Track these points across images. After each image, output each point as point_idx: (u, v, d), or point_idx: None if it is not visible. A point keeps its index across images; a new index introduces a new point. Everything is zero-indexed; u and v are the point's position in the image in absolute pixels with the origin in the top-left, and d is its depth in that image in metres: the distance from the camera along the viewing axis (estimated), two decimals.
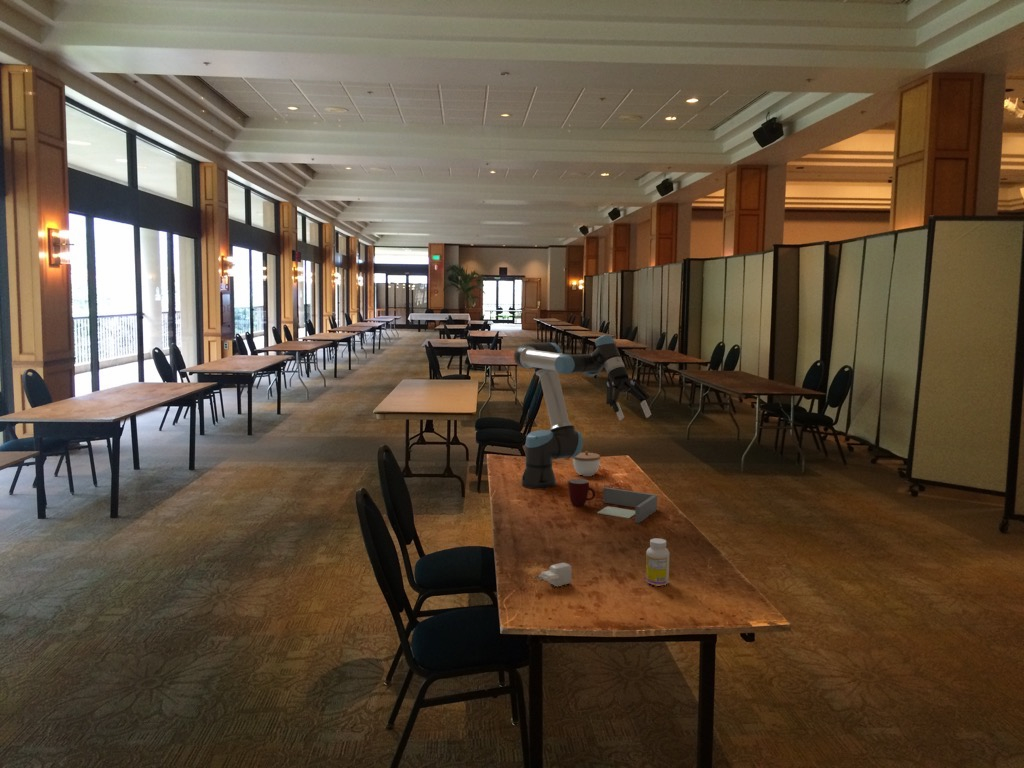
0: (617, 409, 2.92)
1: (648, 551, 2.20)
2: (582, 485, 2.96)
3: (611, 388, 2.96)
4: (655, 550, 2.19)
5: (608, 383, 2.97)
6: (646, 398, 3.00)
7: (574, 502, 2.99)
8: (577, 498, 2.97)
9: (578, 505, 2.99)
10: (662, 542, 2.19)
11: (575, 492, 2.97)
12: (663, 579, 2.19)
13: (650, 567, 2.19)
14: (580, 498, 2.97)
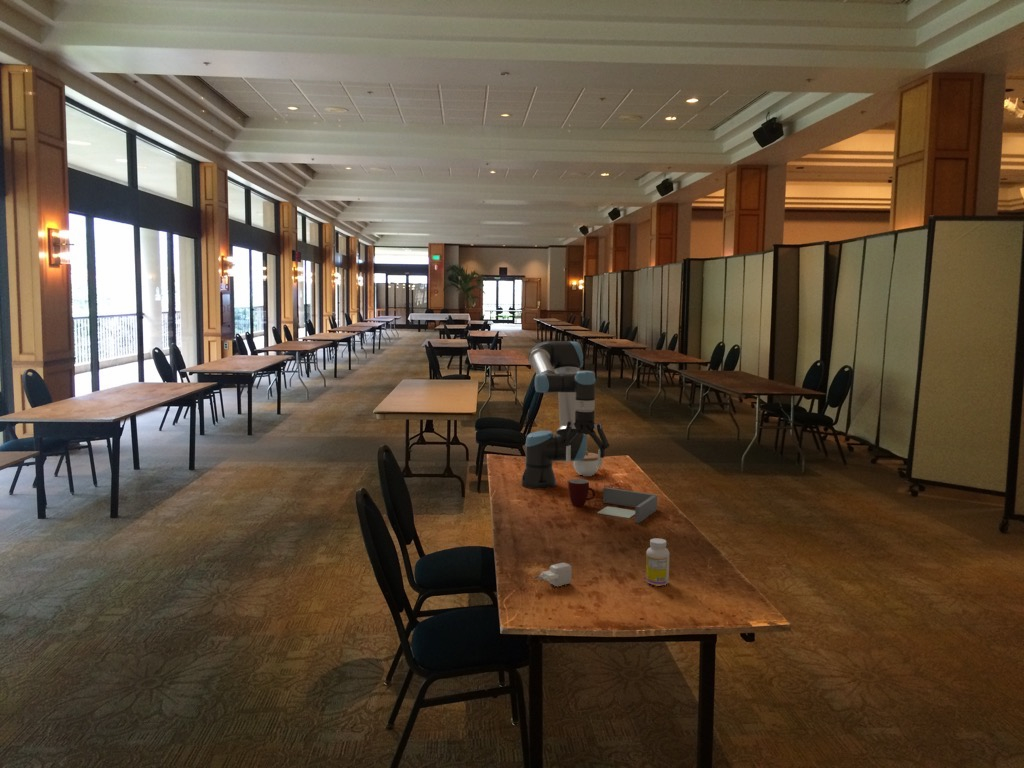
0: (565, 452, 3.02)
1: (648, 551, 2.20)
2: (582, 485, 2.96)
3: (566, 430, 3.00)
4: (655, 550, 2.19)
5: None
6: (600, 449, 2.93)
7: (574, 502, 2.99)
8: (577, 498, 2.97)
9: (578, 505, 2.99)
10: (663, 542, 2.19)
11: (575, 492, 2.97)
12: (663, 579, 2.19)
13: (650, 567, 2.19)
14: (580, 498, 2.97)
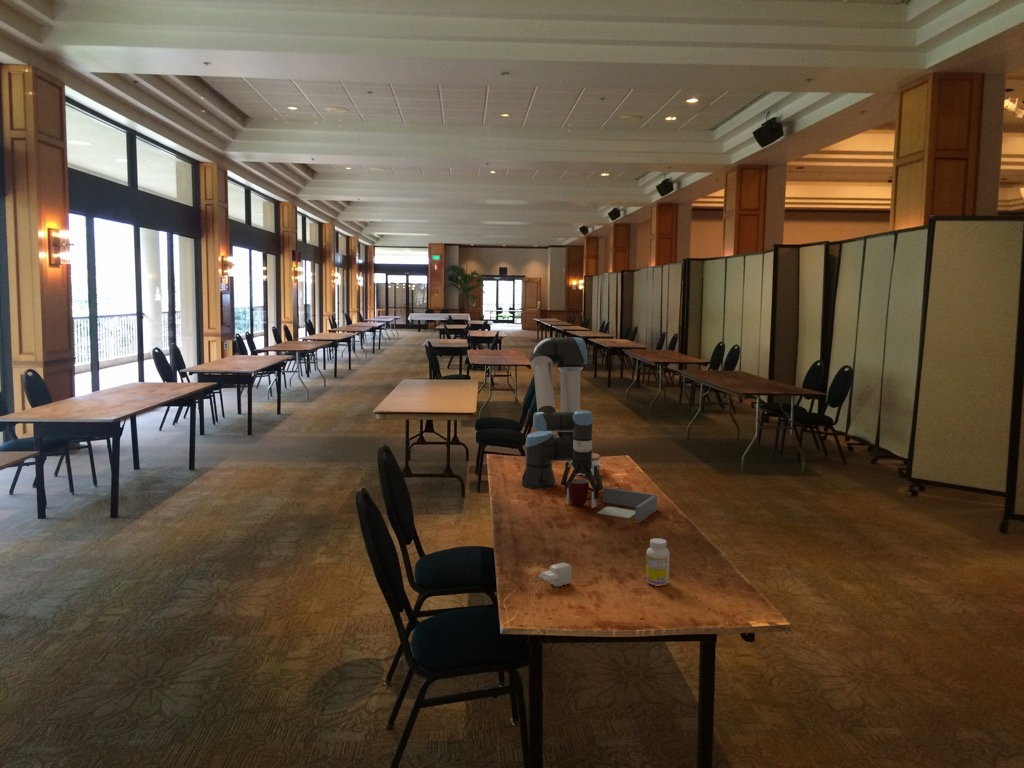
0: (566, 493, 3.03)
1: (648, 551, 2.20)
2: (582, 485, 2.96)
3: (565, 471, 3.02)
4: (655, 550, 2.19)
5: None
6: (594, 491, 2.96)
7: (574, 502, 2.99)
8: (577, 498, 2.97)
9: (578, 505, 2.99)
10: (663, 542, 2.19)
11: (575, 492, 2.97)
12: (663, 579, 2.19)
13: (650, 567, 2.19)
14: (580, 498, 2.97)
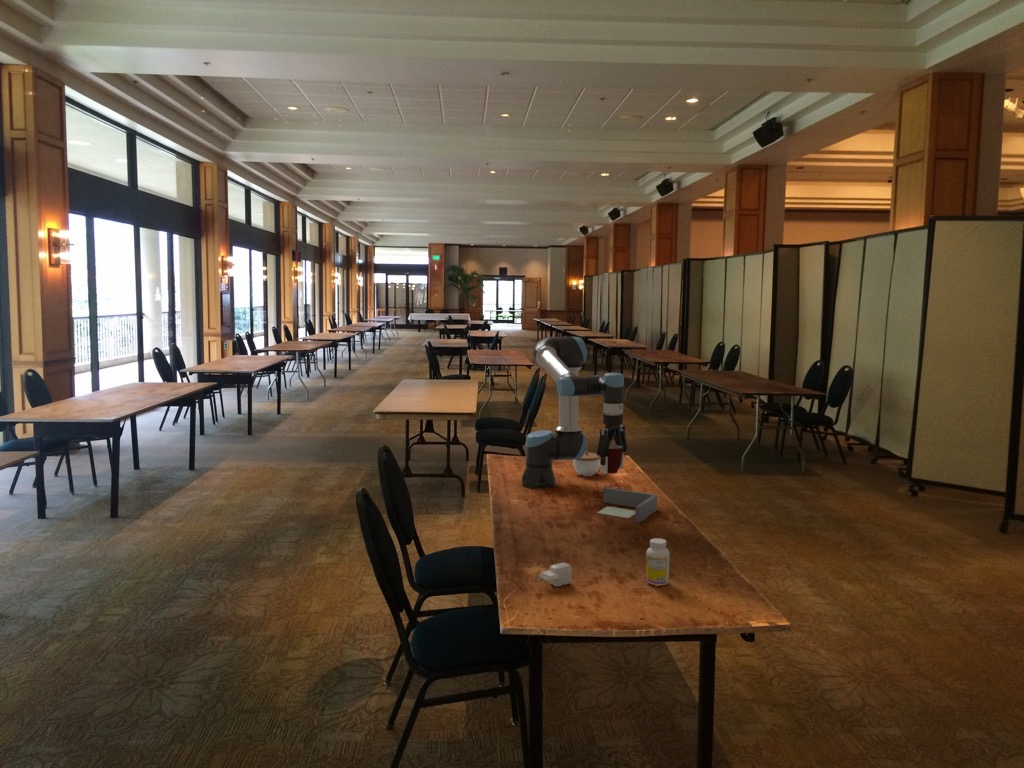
0: (604, 464, 2.86)
1: (648, 551, 2.20)
2: None
3: (605, 439, 2.85)
4: (655, 550, 2.19)
5: (603, 432, 2.85)
6: (625, 451, 2.94)
7: (617, 468, 2.88)
8: (620, 463, 2.89)
9: (617, 470, 2.90)
10: (663, 542, 2.19)
11: (620, 457, 2.88)
12: (663, 579, 2.19)
13: (650, 567, 2.19)
14: (620, 462, 2.90)
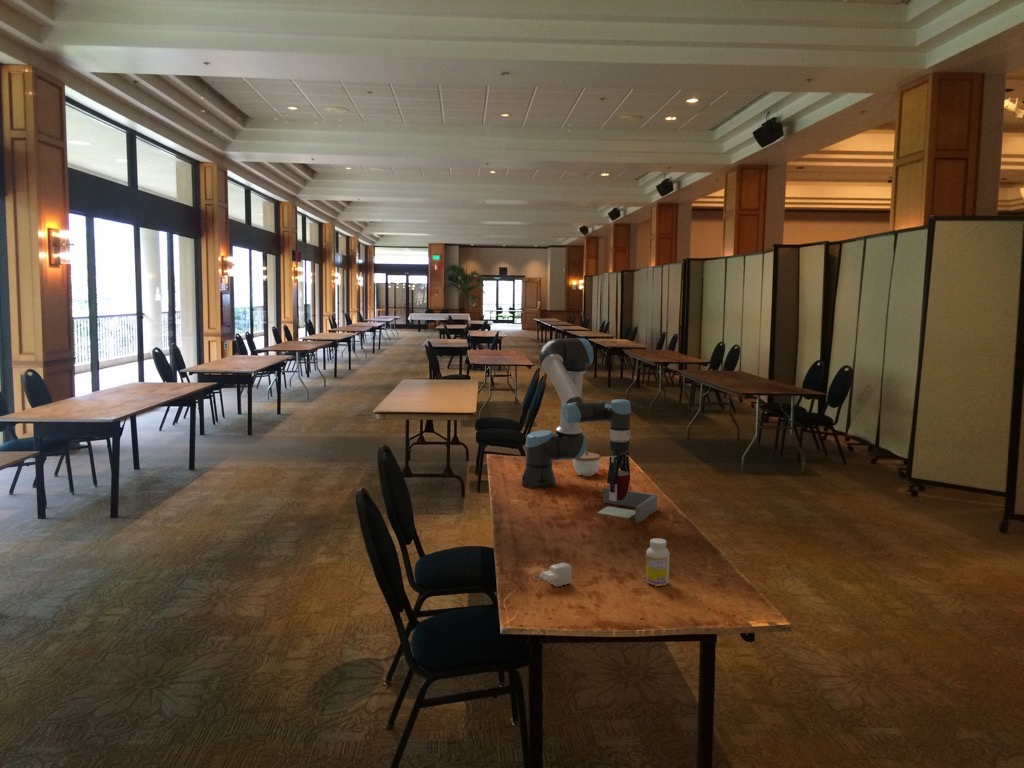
0: (614, 491, 2.85)
1: (648, 551, 2.20)
2: None
3: (615, 467, 2.84)
4: (655, 550, 2.19)
5: (613, 460, 2.84)
6: None
7: (625, 494, 2.88)
8: None
9: (625, 496, 2.90)
10: (663, 542, 2.19)
11: None
12: (663, 579, 2.19)
13: (650, 567, 2.19)
14: None
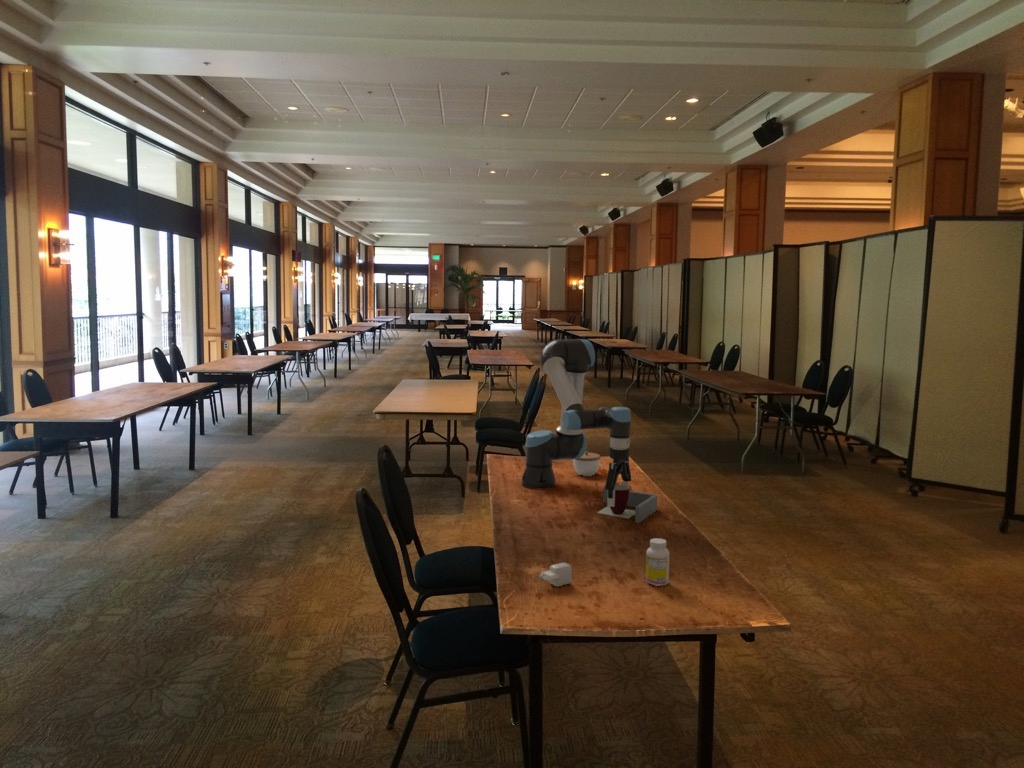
0: (612, 497, 2.85)
1: (648, 551, 2.20)
2: None
3: (614, 473, 2.84)
4: (655, 550, 2.19)
5: (613, 466, 2.84)
6: (630, 480, 2.97)
7: (624, 509, 2.89)
8: None
9: None
10: (663, 542, 2.19)
11: None
12: (663, 579, 2.19)
13: (650, 567, 2.19)
14: None
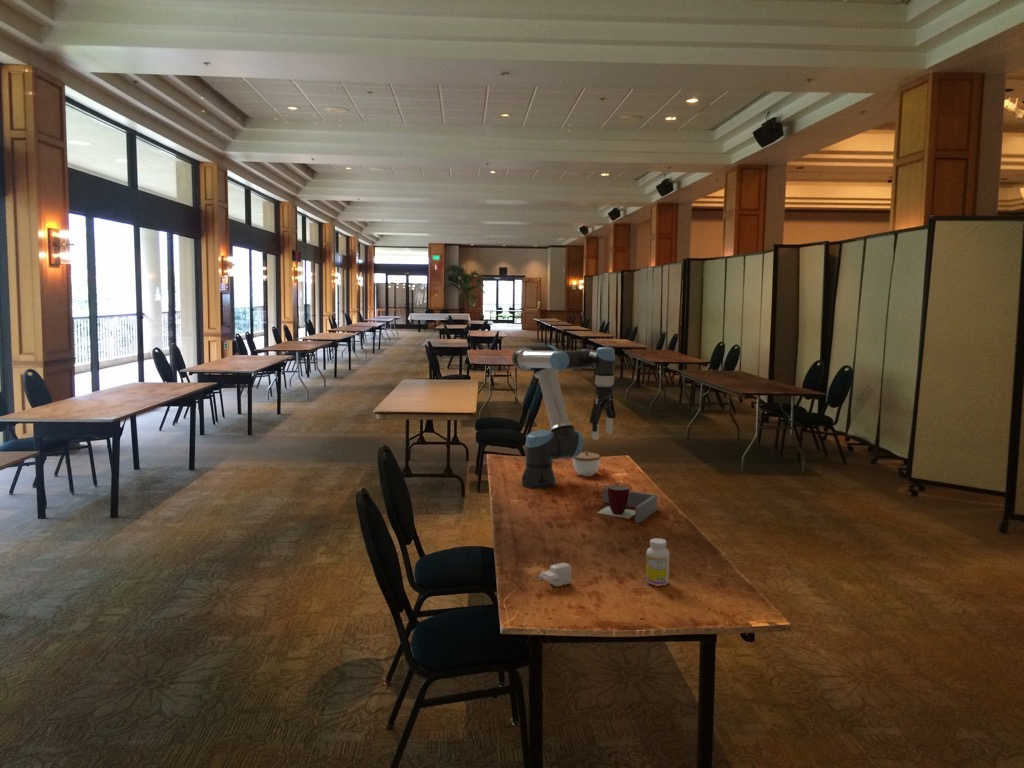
0: (596, 430, 3.05)
1: (648, 551, 2.20)
2: None
3: (598, 408, 3.04)
4: (655, 550, 2.19)
5: (597, 401, 3.04)
6: (614, 417, 3.17)
7: (624, 509, 2.89)
8: None
9: None
10: (662, 542, 2.19)
11: (627, 497, 2.89)
12: (663, 579, 2.19)
13: (650, 567, 2.19)
14: None
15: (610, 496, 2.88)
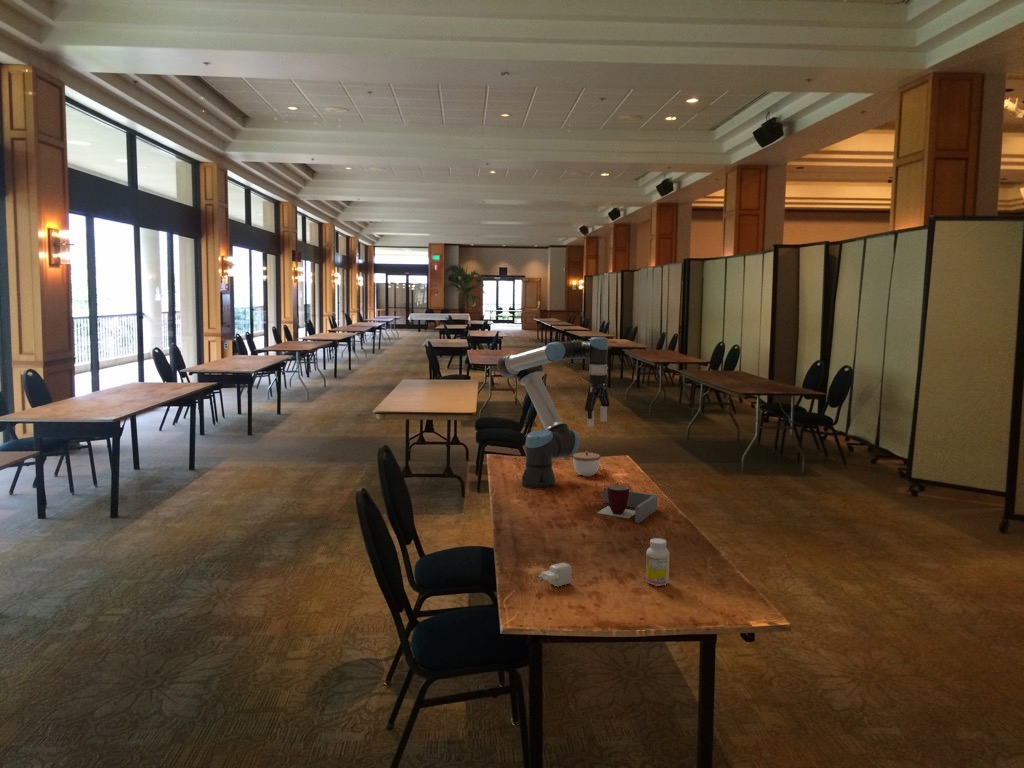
0: (591, 417, 3.14)
1: (648, 551, 2.20)
2: None
3: (593, 396, 3.13)
4: (655, 550, 2.19)
5: (592, 389, 3.14)
6: (608, 405, 3.26)
7: (624, 509, 2.89)
8: None
9: None
10: (662, 542, 2.19)
11: (627, 497, 2.89)
12: (663, 579, 2.19)
13: (650, 567, 2.19)
14: None
15: (610, 496, 2.88)
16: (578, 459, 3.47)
